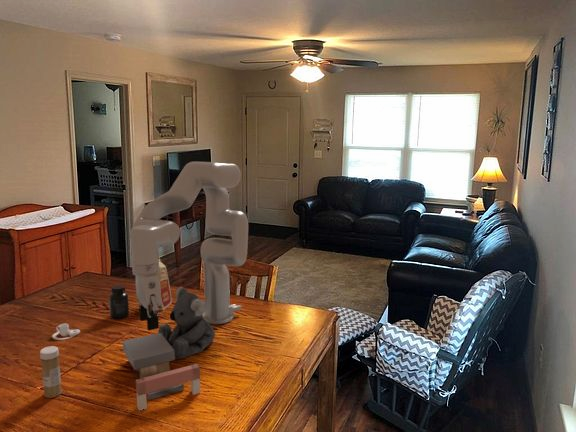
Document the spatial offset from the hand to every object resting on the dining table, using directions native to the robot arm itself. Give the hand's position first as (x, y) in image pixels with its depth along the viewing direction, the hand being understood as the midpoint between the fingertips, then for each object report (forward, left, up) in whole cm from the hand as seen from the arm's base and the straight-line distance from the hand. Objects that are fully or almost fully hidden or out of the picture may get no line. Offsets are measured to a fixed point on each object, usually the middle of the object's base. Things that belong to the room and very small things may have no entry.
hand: (149, 323), depth 145 cm
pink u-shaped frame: (0, +18, -15) cm, 24 cm away
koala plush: (-16, -10, -15) cm, 24 cm away
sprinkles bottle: (+27, -1, -15) cm, 31 cm away
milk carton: (-17, -50, -15) cm, 55 cm away
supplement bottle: (-1, -46, -15) cm, 48 cm away
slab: (0, -2, -11) cm, 11 cm away
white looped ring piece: (+20, -36, -16) cm, 44 cm away
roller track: (0, +3, -15) cm, 15 cm away
